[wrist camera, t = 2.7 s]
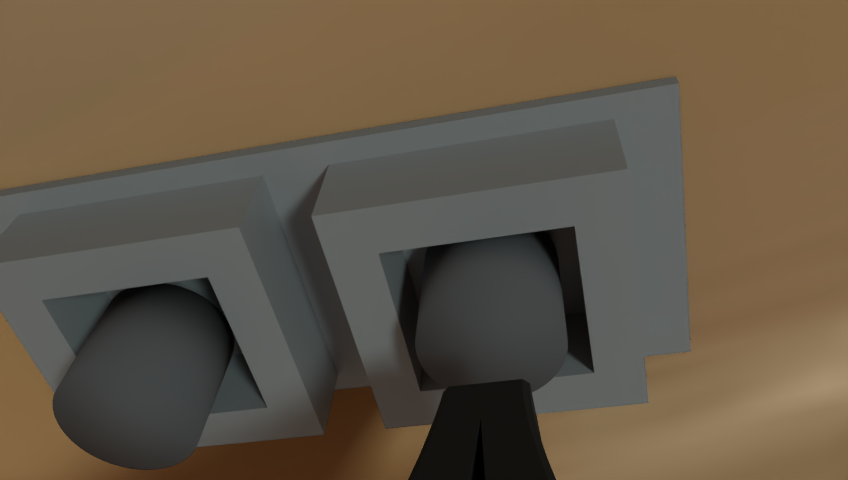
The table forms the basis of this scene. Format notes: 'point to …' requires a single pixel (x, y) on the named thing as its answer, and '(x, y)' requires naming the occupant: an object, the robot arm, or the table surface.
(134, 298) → the plunger
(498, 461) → the robot arm
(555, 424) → the table surface
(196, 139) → the table surface
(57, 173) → the table surface
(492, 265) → the plunger
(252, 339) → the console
